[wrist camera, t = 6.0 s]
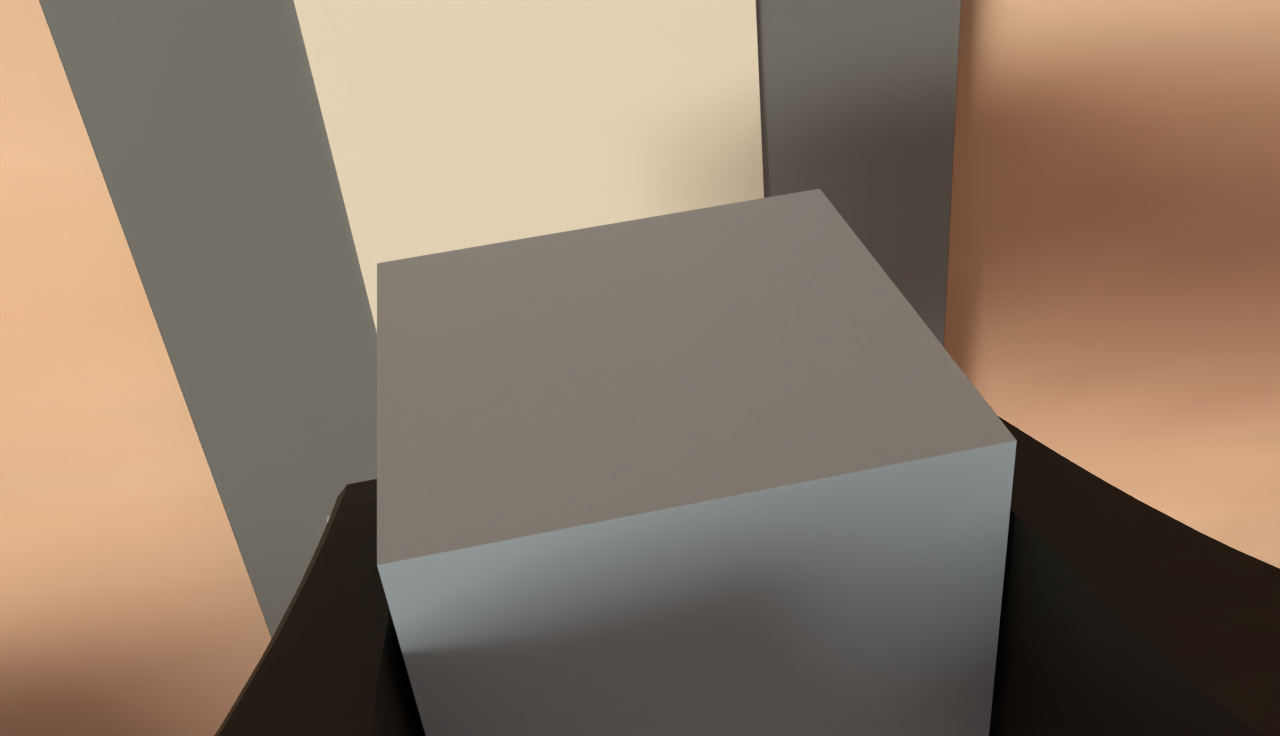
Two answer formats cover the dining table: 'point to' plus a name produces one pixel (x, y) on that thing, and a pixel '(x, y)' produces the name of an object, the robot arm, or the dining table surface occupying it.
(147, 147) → the letter card
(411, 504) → the slate cube
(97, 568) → the dining table surface
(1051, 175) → the dining table surface
